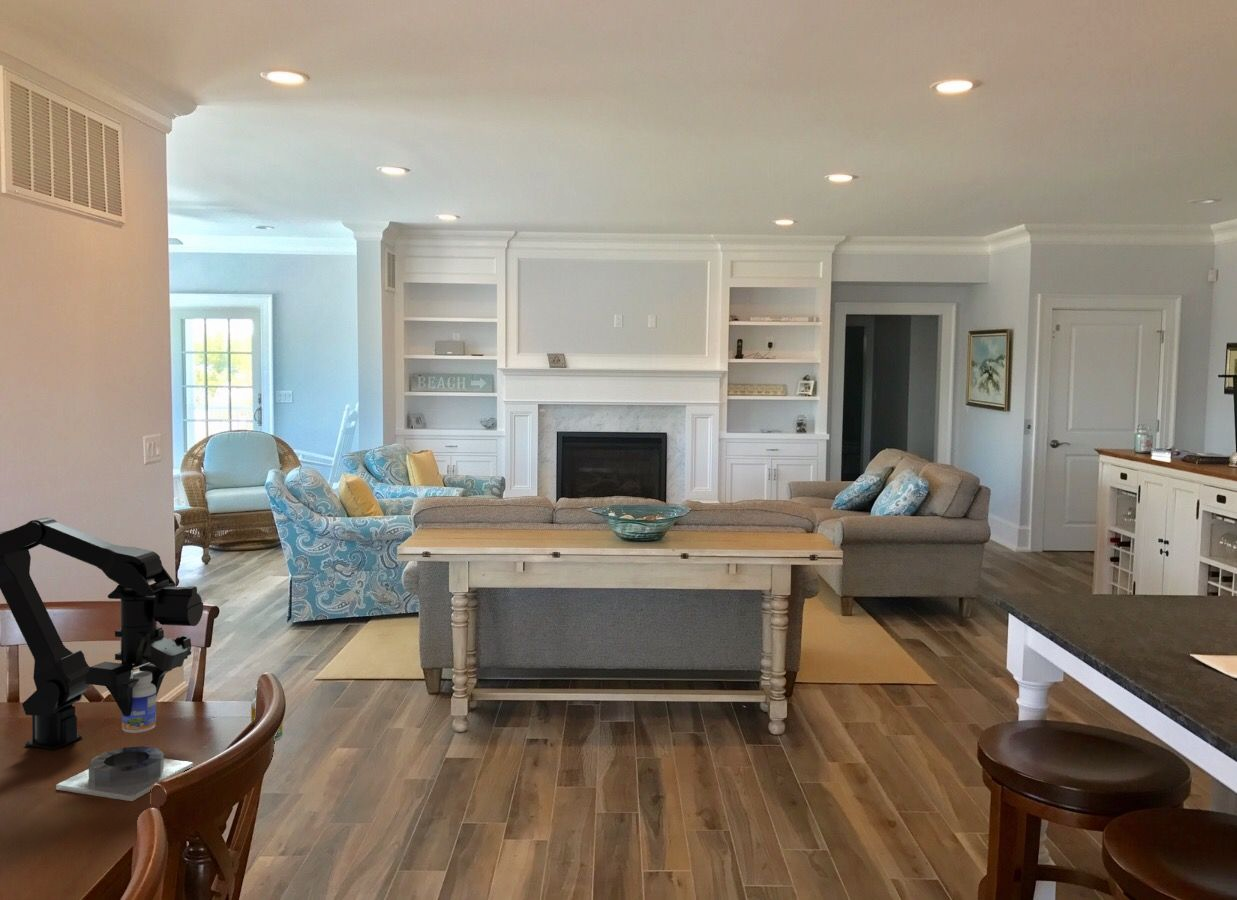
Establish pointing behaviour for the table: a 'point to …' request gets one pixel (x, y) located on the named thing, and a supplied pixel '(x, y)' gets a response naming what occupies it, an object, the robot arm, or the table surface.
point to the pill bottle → (141, 705)
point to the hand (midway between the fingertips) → (138, 710)
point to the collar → (124, 773)
